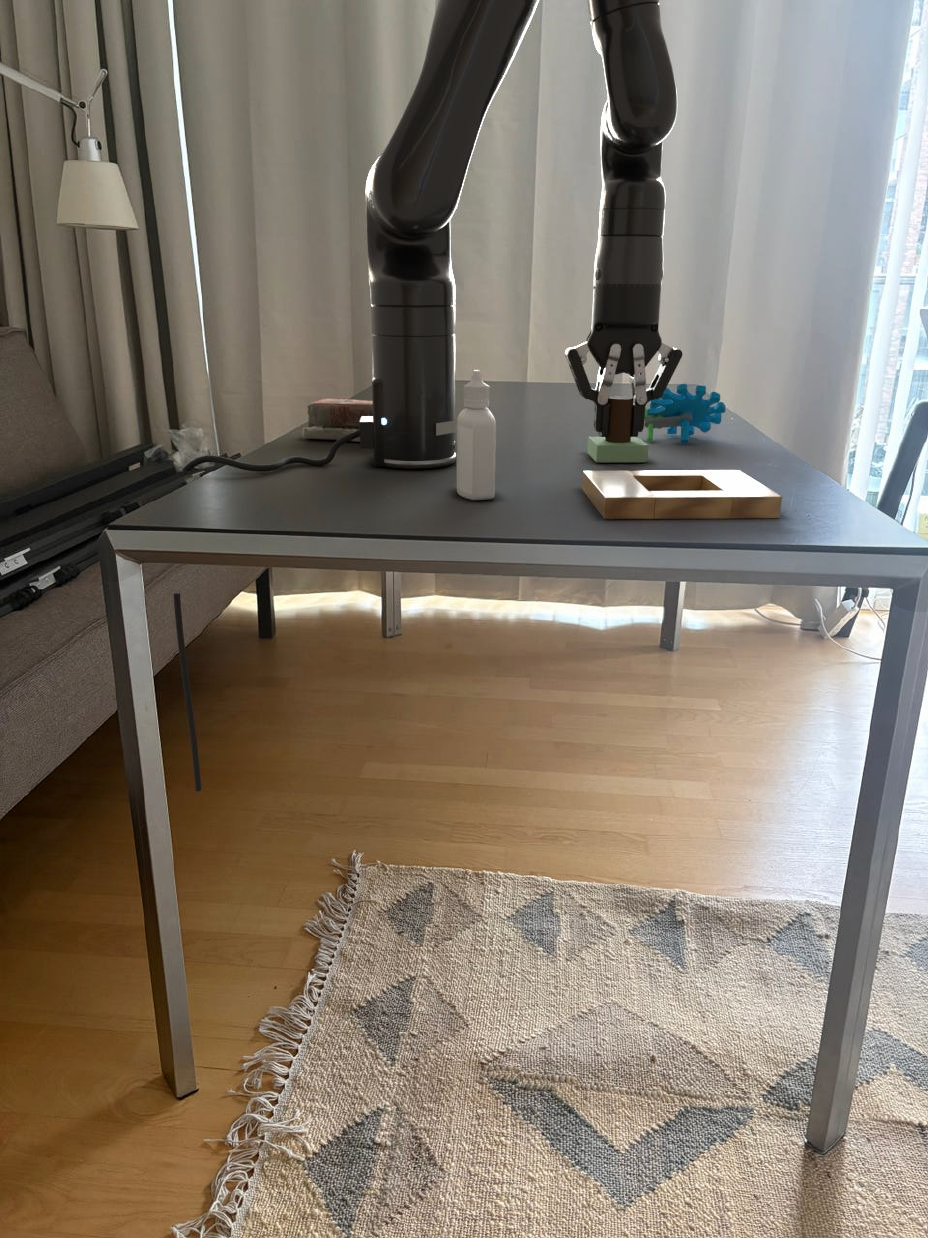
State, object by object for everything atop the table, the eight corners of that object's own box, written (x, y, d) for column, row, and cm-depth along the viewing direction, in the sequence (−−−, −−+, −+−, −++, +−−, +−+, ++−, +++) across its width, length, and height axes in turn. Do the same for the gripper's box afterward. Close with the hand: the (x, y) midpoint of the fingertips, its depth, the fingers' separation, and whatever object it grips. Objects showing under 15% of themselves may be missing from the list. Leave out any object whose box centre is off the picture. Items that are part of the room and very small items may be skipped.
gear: (728, 424, 125) (722, 375, 117) (727, 460, 123) (721, 413, 114) (645, 431, 129) (634, 384, 120) (643, 466, 127) (631, 421, 118)
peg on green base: (596, 462, 108) (599, 400, 106) (587, 453, 114) (590, 394, 111) (647, 462, 108) (652, 401, 106) (635, 453, 114) (640, 394, 111)
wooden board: (604, 519, 84) (605, 497, 83) (582, 490, 95) (583, 470, 94) (779, 518, 84) (782, 496, 84) (737, 489, 96) (739, 469, 95)
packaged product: (298, 402, 120) (326, 393, 129) (300, 440, 122) (327, 428, 131) (432, 407, 116) (452, 397, 126) (433, 446, 118) (452, 434, 127)
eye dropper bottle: (447, 500, 90) (447, 372, 86) (459, 487, 95) (460, 367, 91) (491, 502, 89) (494, 373, 85) (502, 490, 95) (504, 368, 90)
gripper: (681, 280, 108) (668, 431, 114) (560, 279, 107) (554, 431, 113) (699, 281, 101) (685, 441, 107) (570, 280, 100) (563, 441, 106)
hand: (617, 435), depth 110 cm, fingers closed on peg on green base, 3 cm apart
